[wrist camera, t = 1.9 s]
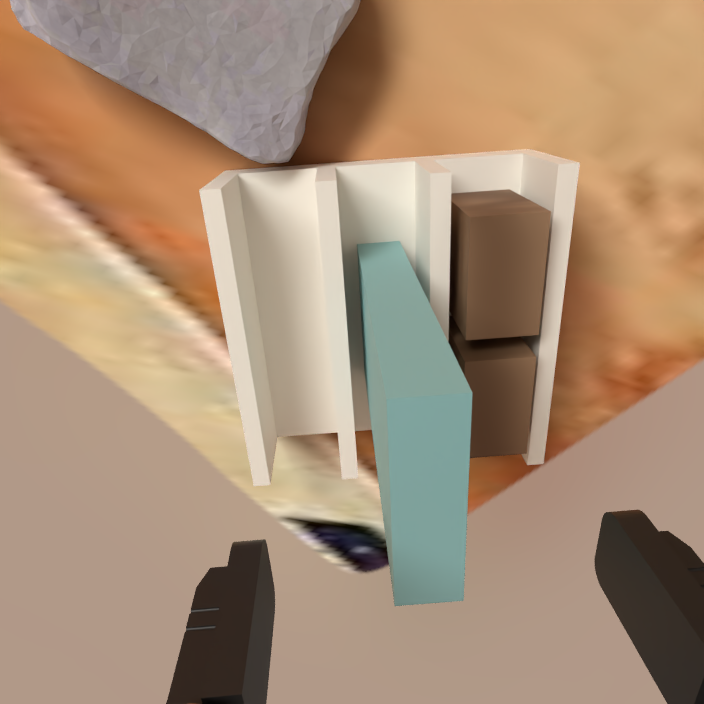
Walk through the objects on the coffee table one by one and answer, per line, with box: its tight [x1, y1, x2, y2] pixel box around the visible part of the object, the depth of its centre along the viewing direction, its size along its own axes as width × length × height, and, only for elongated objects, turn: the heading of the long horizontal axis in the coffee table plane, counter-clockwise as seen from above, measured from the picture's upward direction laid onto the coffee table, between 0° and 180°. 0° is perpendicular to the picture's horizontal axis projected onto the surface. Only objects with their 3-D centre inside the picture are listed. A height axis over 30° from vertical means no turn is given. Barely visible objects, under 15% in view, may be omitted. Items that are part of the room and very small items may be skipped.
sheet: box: [357, 241, 472, 606], centre depth 20 cm, size 2×7×14 cm, turn 4°
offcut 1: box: [449, 189, 551, 340], centre depth 23 cm, size 3×5×5 cm, turn 4°
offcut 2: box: [448, 316, 536, 458], centre depth 25 cm, size 3×5×5 cm, turn 4°
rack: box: [199, 149, 580, 486], centre depth 25 cm, size 14×14×6 cm
